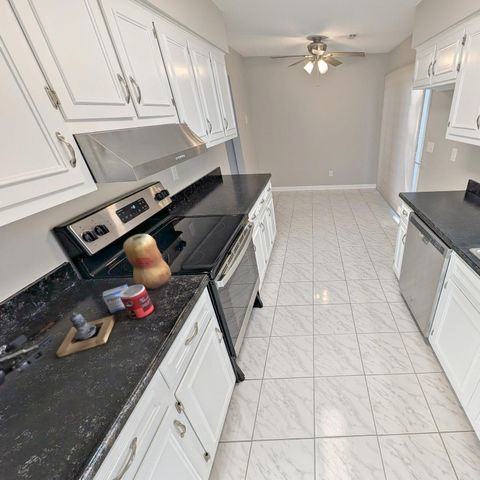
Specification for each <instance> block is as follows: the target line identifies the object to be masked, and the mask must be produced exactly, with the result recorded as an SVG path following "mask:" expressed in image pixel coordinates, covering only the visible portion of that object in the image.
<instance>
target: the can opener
mask: <svg viewBox="0 0 480 480" xmlns="http://www.w3.org/2000/svg"><path fill="white" fill-rule="evenodd" d="M55 323H56V322H55V321H51V322H50V323H48V324H47V325H46V326H45V327H43V328H42V329H41V330H40V331H39V332H38V333H37V334H36V335H34V336H33V337H30V338H29V341H32V339H34V338H38V337H39V336H40V335H41V334H42V333H44V332H45V331H46V330H47V329H49V328H50V327H52V326H53V325H54V324H55Z"/></svg>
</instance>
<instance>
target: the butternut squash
mask: <svg viewBox="0 0 480 480" xmlns="http://www.w3.org/2000/svg"><path fill="white" fill-rule="evenodd" d="M122 247H123V248H122V249H123V251H124V254H125V256H126V259H127V260H128V262H129V264H130V265H131V266H132V268H133V274H132V275H133V276H132V278H133V281H134V283H135V285H143V286H144V287H145V289H146V290H155V289H158V288H161V287H162V286H163V285H165V284H166V283H167V282H169V281H170V278H171V277H172V273H171V268H170V266H169V265H168V264H167V262H166V261H165V260H164V258H163V256H162V253H161V252H160V250H159V248H158V246H157V241H156V239H154V238H153V237H152V236H151V235H149V234H147V233H137V234H134V235H132V236H130V237H128V238H127V239H125V242H124V243H123V246H122Z"/></svg>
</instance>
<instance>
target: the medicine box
mask: <svg viewBox="0 0 480 480" xmlns="http://www.w3.org/2000/svg"><path fill="white" fill-rule="evenodd" d="M128 287H129V286H128V284H127V283H126V284H123V285H120V286H116V287H114V288H111V289H107V290H105V291H103V292H102V300H103V301H104V303H105V305H106V306H107V308H108V310H109V312H110V313H111V314H113V313H116V312H118V311H121V310H125V309H126V308H125V307H124V305H123V303H122V301H121V299H120V297H119V294H120V292H121V291H122V290H124V289H126V288H128Z"/></svg>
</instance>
